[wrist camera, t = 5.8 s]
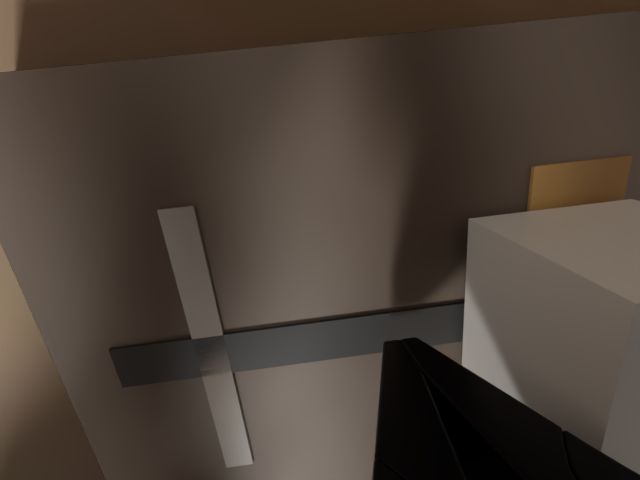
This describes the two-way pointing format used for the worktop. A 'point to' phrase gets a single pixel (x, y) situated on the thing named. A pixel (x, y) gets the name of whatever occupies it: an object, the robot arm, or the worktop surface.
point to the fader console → (288, 224)
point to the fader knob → (561, 317)
